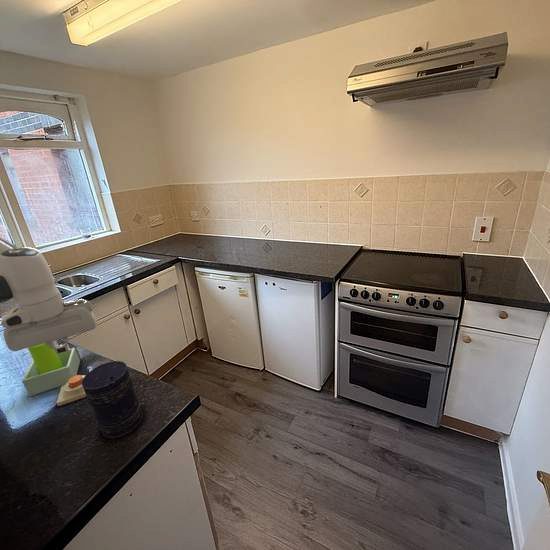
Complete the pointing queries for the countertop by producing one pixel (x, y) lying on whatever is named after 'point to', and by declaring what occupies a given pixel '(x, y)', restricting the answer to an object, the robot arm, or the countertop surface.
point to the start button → (75, 381)
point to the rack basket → (52, 374)
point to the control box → (70, 394)
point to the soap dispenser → (45, 358)
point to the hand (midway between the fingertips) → (63, 351)
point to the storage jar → (113, 398)
